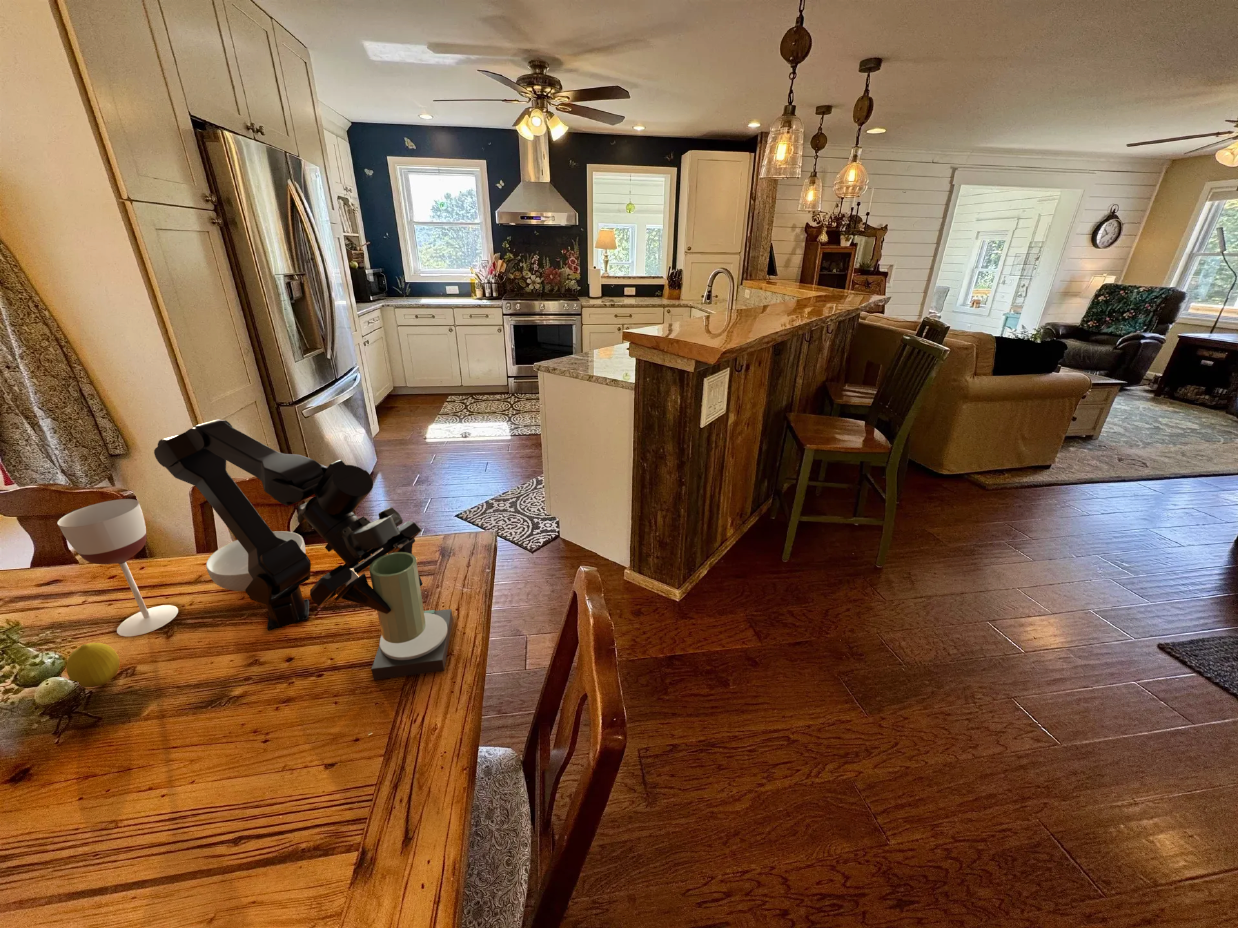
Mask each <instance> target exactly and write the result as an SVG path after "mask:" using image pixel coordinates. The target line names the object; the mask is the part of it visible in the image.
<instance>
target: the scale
mask: <svg viewBox="0 0 1238 928" xmlns="http://www.w3.org/2000/svg"><path fill="white" fill-rule="evenodd" d="M424 614H425V622H426V626H425V629H424V631H423V632H422V633H421V634H420V635H419V636H418V637H416V638H414V639H413V640H410V641H407V642H404V643H390V642H388V641H386V640H385V639H384V638H383V636H382V635H380V638H379V646H378V648H377V651H376V654H375V657H374V660H373V663H372V665H371V668H370V670H371V674H372V679H373V681H376V680H384V679H385V680H386V679H393V678H400V677H408V676H414V675H415V676H416V675H422V674H430V673H438V672H444V671H445V668H446V662H447V656H448V650H449V645H450V640H451V639H450V637H451V633H452V626H453V621H454V616H453V610H452V608H449V609H440V610H439V609H438V610H435V609H430V610H429V609H428V610H424Z"/></svg>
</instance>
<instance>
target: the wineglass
mask: <svg viewBox="0 0 1238 928" xmlns="http://www.w3.org/2000/svg"><path fill="white" fill-rule="evenodd" d="M143 513H144V512H143V510H142V507H141V504H140V501H138V500H137V499H134V498H120V499H113V500H107V501H102V502H97V503H95V504H89V505H88V506H87V505H86V506H84V507H81V508H77V509H75V510H73V511H71V512H69V513H67V514H65V515H63V516H62V517H61V518H59V519H58V520H57V525H58V527H59V529H60V531H61V533H62V535H63V537H64V538H65V539H66V541H67V542H68V543H69V545H70V546H71V547H72V549H73V550H75V552H76V553H77V554H78V556H80V557H81V558H82V559H83V560H84V561H86V562H88V563H91V564H96V565H119V567H120V569H121V571H122V573H123V575H124V578H125V580H126V582H127V584H128V586H129V588H130V591H131V593H132V594H133V597H134V600H135V602H136V604H137V607H138V608H139V611H138V612H136V613H134V614H132V615H130V616H129V617H127V618H126V619H125V620H124V621H122V622H121V623H119V625H118V627H117V628H116V633H117V634H118V636H121V637H136V636H137V637H138V636H141V635H146V634H147V633H150V632H151V633H152V632H154V631H155V630H158V629H160V628H162V627H164V626H166V625H167V624H169V623H170V622H171V621H173V620H174V619H175V618H176V617H177V615H178V613H179V608H178V607H177V606H176V605H172V604H162V605H157V606H151V607H149V608H147V605H146V604H145V601H144V599H143V597H142V594H141V592H140V590H139V587H138V585H137V583H136V581H135V579H134V577H133V574H132V572H131V569H130V568H129V565H128V563H127V562H128V560H130V559H131V558H133V557H135V555H137V554H138V553H139V552H140V551H141V550H142V549H143V548H144V547H145V546H146V543H147V539H148V538H147V537H148V536H147V528H146V520H145V517H144V514H143Z"/></svg>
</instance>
